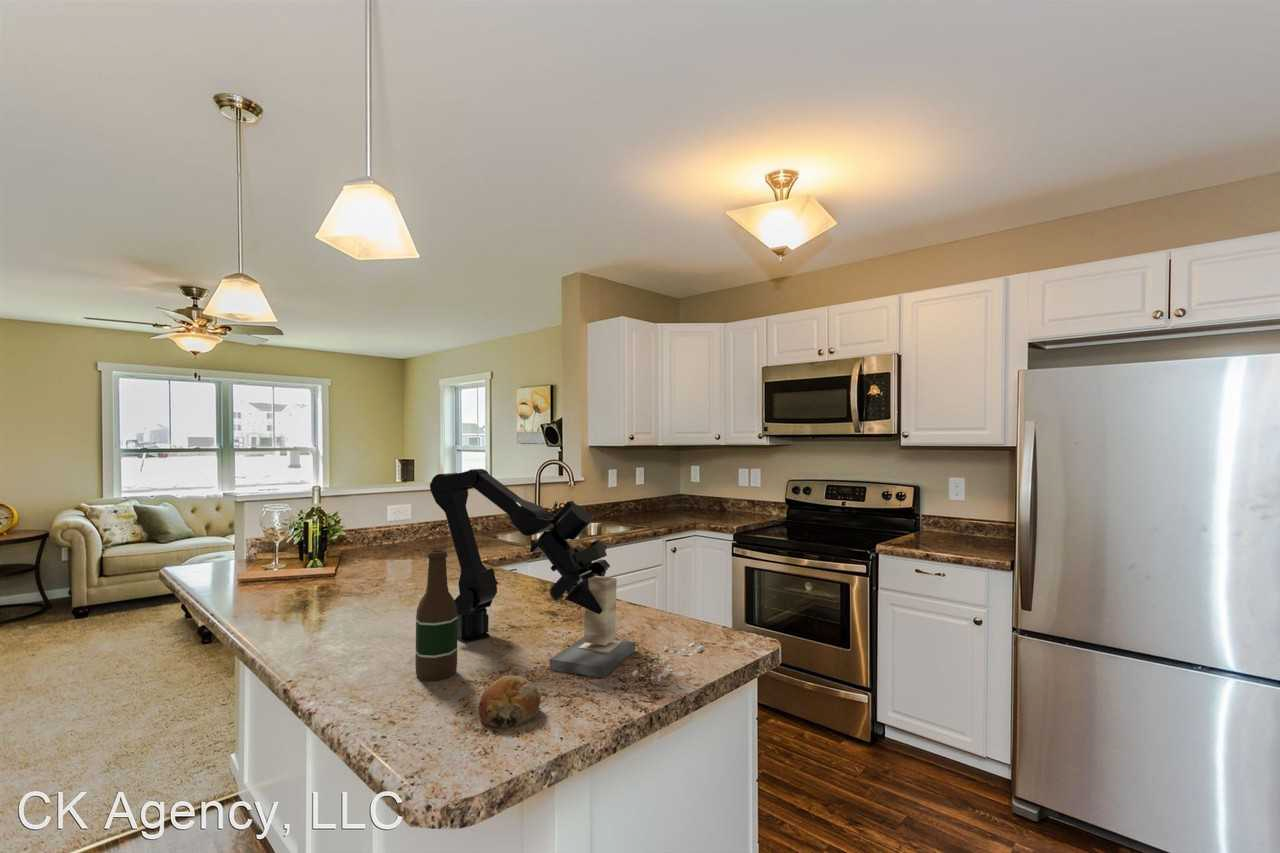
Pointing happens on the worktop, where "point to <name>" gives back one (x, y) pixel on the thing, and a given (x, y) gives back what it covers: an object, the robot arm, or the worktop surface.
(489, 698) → the bread roll
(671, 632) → the worktop surface
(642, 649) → the worktop surface
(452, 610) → the beer bottle
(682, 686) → the worktop surface
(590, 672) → the slate plinth
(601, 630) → the birch pillar
